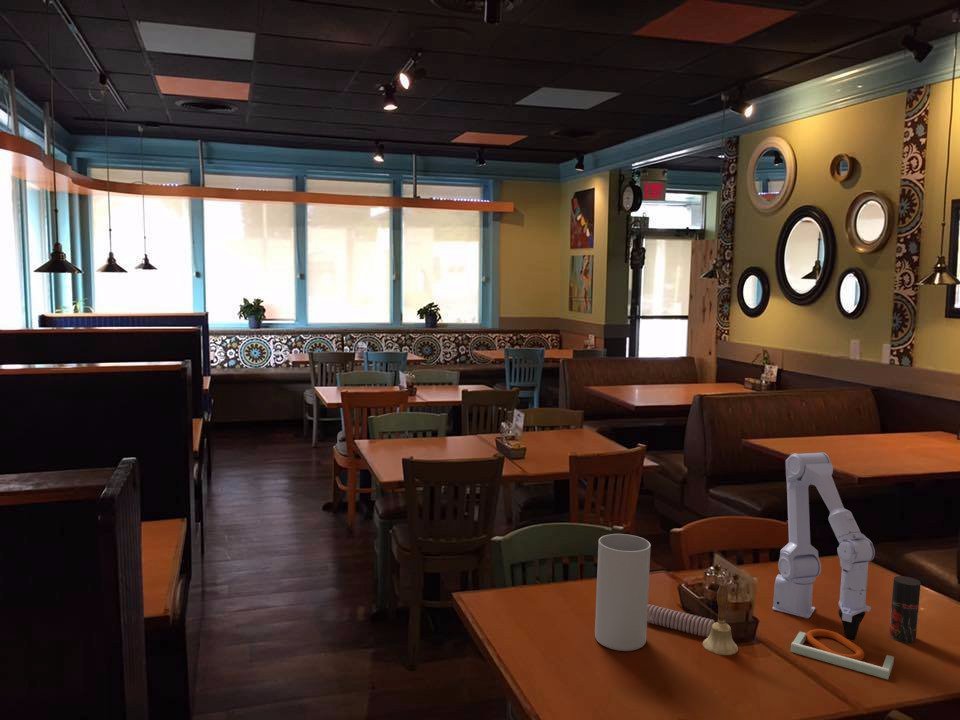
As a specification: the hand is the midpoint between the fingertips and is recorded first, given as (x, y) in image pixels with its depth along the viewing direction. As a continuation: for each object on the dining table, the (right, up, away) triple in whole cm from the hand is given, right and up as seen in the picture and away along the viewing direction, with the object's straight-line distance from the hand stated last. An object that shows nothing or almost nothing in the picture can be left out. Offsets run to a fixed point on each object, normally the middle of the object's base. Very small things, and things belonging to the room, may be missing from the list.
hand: (850, 639), depth 187 cm
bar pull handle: (-6, -2, -7) cm, 9 cm away
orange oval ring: (-5, -2, -2) cm, 6 cm away
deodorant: (+15, -1, +4) cm, 16 cm away
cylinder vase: (-57, 0, 0) cm, 57 cm away
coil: (-41, 0, +7) cm, 41 cm away
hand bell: (-33, -1, -3) cm, 33 cm away
